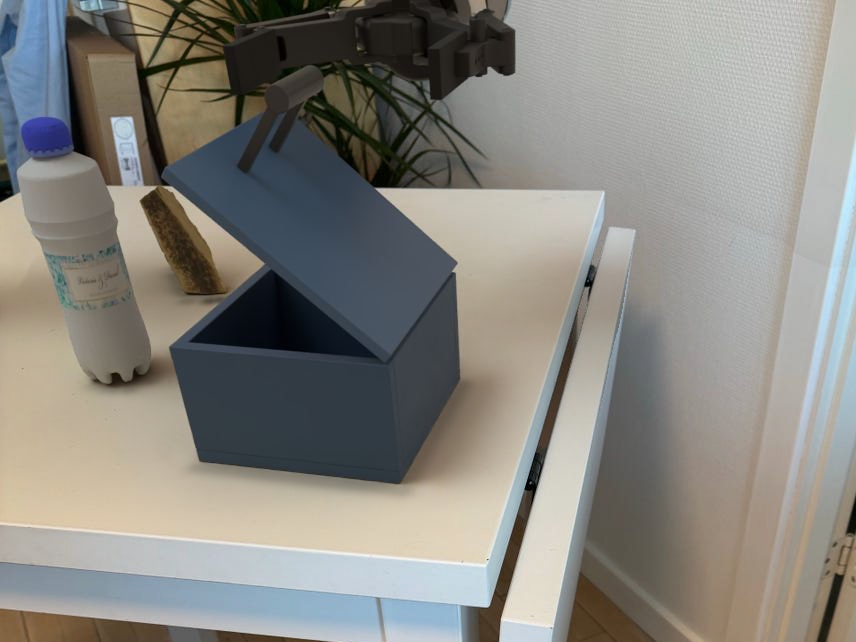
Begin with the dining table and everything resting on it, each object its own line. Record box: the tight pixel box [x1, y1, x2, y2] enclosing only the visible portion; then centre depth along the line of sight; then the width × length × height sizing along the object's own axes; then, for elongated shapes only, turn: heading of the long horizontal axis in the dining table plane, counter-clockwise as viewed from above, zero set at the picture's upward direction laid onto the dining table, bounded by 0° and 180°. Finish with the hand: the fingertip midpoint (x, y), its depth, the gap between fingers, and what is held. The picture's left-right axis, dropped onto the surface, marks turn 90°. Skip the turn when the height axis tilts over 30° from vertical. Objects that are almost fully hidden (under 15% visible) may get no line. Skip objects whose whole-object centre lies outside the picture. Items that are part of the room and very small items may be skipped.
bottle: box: [16, 116, 152, 385], centre depth 73 cm, size 7×7×20 cm
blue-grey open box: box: [168, 263, 461, 485], centre depth 70 cm, size 16×17×9 cm
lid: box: [161, 64, 459, 363], centre depth 61 cm, size 17×17×7 cm
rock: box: [139, 185, 229, 295], centre depth 95 cm, size 11×9×10 cm
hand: (330, 72), depth 57 cm, fingers open, 13 cm apart
